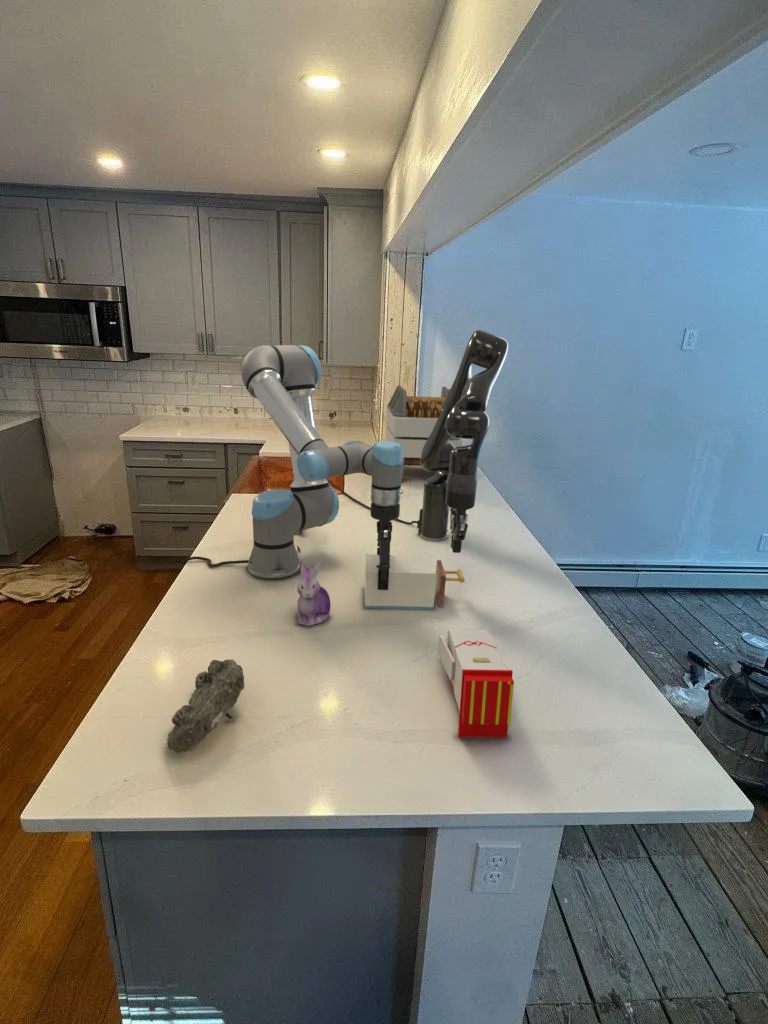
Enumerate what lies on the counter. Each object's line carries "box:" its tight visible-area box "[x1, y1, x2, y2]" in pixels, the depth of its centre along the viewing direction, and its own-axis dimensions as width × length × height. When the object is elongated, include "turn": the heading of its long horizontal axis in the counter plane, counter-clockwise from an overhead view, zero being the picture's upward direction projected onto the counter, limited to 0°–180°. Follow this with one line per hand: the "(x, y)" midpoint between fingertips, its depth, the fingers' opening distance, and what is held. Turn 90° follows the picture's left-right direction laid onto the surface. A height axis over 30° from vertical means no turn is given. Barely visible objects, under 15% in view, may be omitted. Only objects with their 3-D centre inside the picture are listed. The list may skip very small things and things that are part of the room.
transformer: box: [384, 384, 464, 483], centre depth 268 cm, size 34×33×41 cm
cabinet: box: [364, 554, 436, 610], centre depth 153 cm, size 18×11×11 cm, turn 92°
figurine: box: [297, 561, 331, 627], centre depth 141 cm, size 9×10×15 cm
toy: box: [437, 628, 515, 738], centre depth 117 cm, size 12×13×30 cm
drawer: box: [435, 559, 466, 606], centre depth 154 cm, size 23×10×9 cm, turn 92°
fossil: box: [166, 658, 245, 754], centre depth 106 cm, size 22×10×15 cm
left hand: (382, 579), depth 153 cm, fingers closed on cabinet, 11 cm apart
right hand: (455, 549), depth 151 cm, fingers closed
